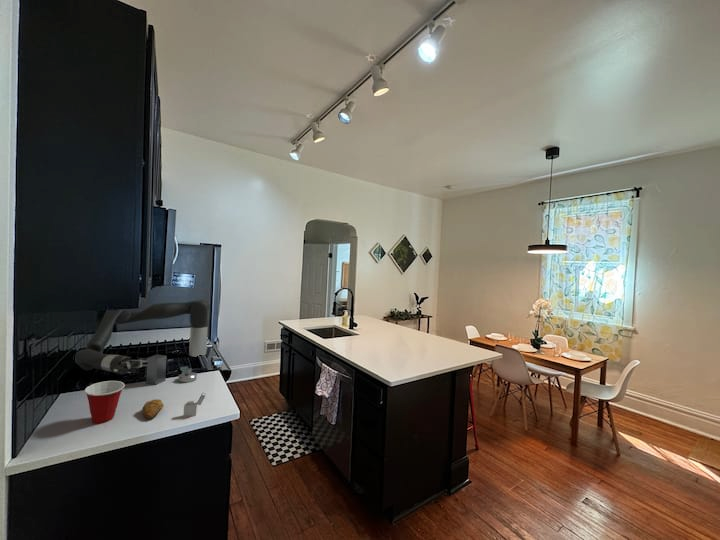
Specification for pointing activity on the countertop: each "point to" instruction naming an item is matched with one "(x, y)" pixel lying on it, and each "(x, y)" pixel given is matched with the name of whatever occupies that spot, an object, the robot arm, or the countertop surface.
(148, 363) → the gray rectangular block
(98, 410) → the plastic cup
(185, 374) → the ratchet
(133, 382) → the countertop surface
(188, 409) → the lighter
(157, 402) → the croissant
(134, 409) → the countertop surface
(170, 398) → the countertop surface
